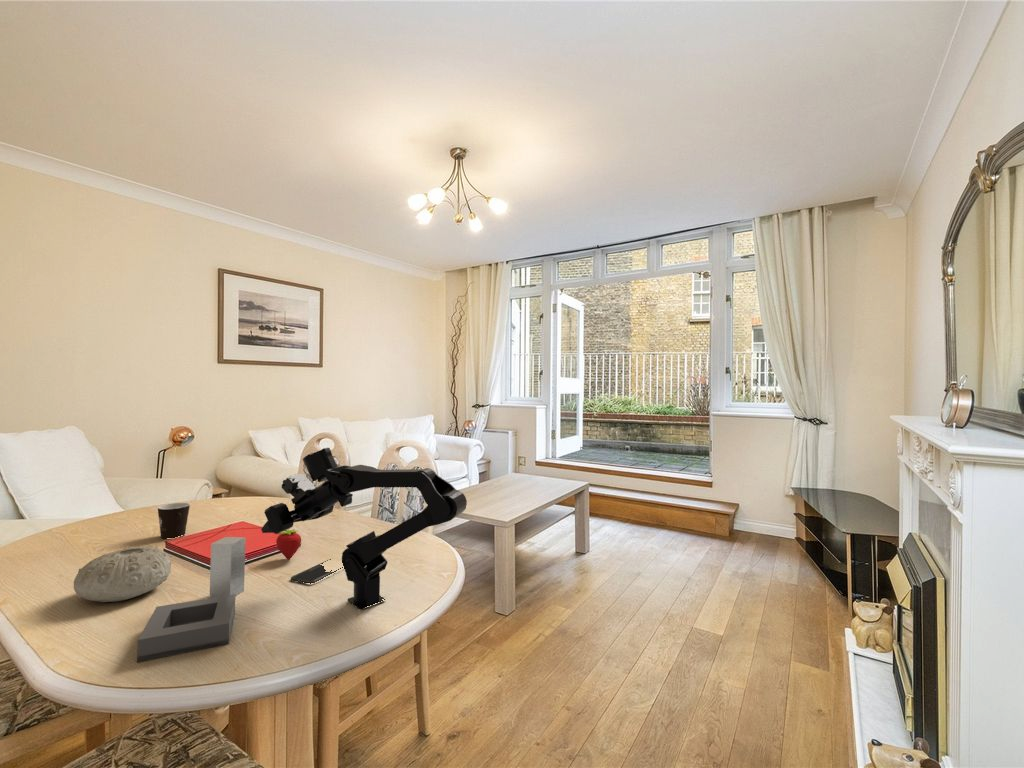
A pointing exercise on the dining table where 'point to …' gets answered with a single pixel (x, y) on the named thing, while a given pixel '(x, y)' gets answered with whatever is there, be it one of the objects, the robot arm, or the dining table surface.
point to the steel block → (227, 566)
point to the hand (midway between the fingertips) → (277, 525)
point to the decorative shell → (122, 574)
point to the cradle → (187, 627)
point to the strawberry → (288, 543)
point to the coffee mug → (173, 519)
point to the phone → (312, 574)
